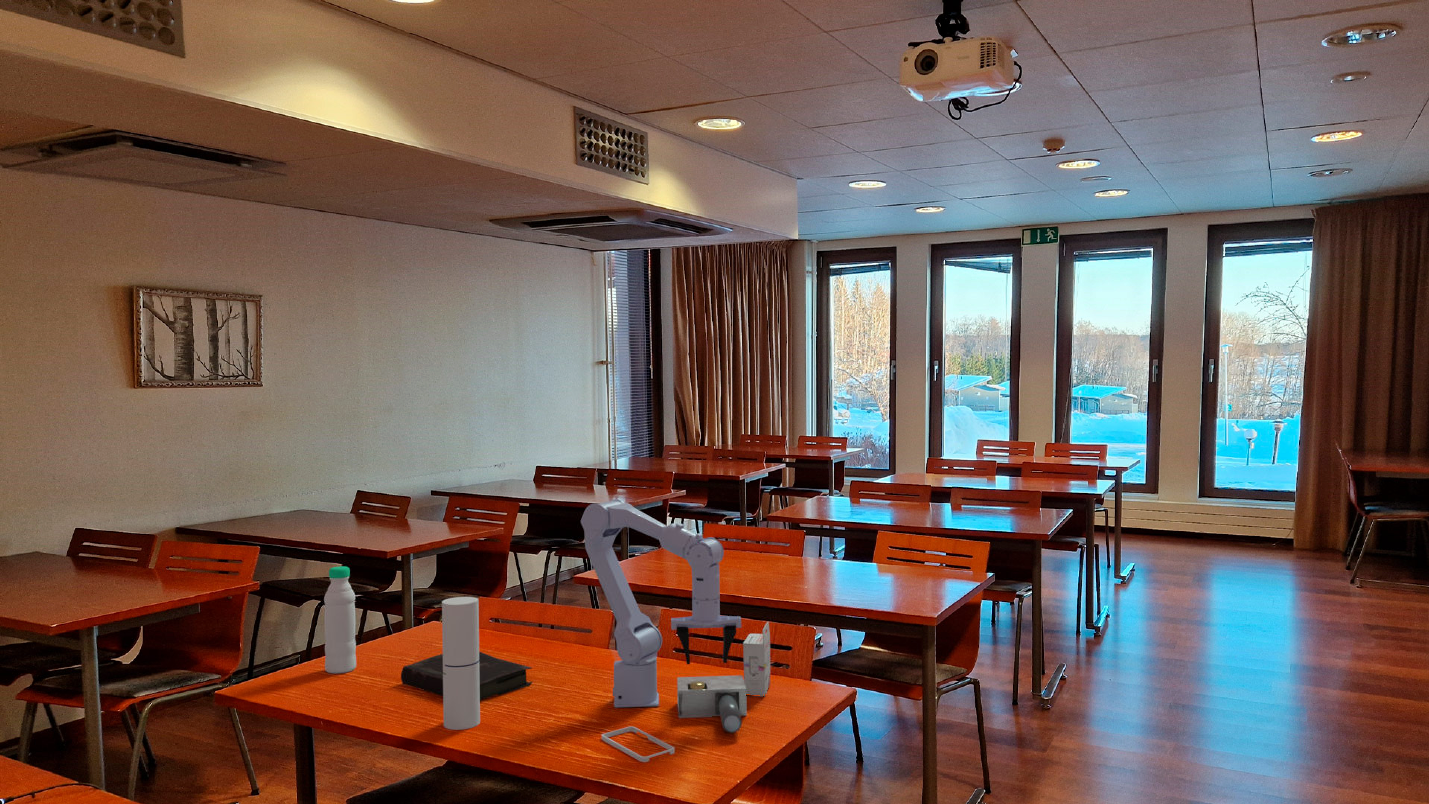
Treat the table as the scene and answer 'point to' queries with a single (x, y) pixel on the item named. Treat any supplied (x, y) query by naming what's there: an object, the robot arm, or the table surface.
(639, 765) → the table surface
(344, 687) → the table surface
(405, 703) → the table surface
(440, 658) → the diary
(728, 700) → the cartridge
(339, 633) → the water bottle
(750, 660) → the ink cartridge box
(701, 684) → the plunger
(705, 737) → the table surface
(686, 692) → the housing
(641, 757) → the phone case
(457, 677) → the cylindrical container
